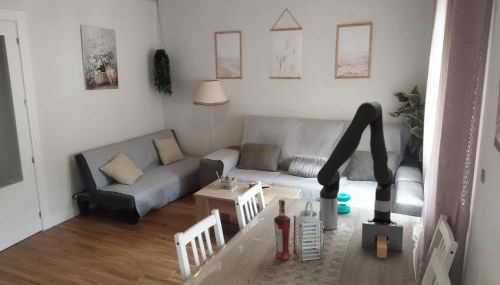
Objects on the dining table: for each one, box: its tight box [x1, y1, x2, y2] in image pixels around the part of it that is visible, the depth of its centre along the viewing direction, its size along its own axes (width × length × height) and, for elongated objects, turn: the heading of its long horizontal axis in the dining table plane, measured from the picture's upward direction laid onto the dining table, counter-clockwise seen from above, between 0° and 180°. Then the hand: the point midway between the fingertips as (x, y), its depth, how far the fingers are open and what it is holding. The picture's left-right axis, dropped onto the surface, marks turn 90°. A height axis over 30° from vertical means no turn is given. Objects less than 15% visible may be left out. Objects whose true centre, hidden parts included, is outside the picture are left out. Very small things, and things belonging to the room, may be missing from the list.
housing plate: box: [361, 221, 404, 252], centre depth 174 cm, size 18×2×12 cm, turn 71°
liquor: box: [273, 198, 291, 261], centre depth 167 cm, size 7×7×28 cm
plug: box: [376, 236, 388, 259], centre depth 175 cm, size 4×20×5 cm, turn 162°
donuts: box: [337, 192, 352, 214], centre depth 221 cm, size 10×10×10 cm
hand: (381, 240), depth 182 cm, fingers closed on plug, 4 cm apart
